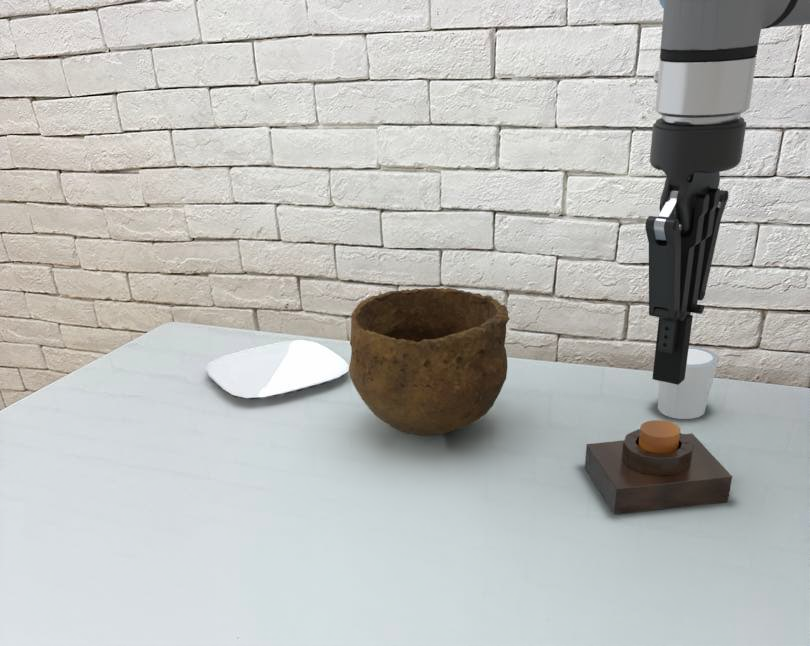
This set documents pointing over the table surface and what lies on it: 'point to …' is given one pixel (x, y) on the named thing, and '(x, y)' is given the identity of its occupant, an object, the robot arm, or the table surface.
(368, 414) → the table surface
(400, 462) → the table surface
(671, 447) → the orange push button
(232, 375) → the plate
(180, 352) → the table surface
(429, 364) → the bowl
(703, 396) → the white cup
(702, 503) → the brown button base
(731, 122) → the robot arm
